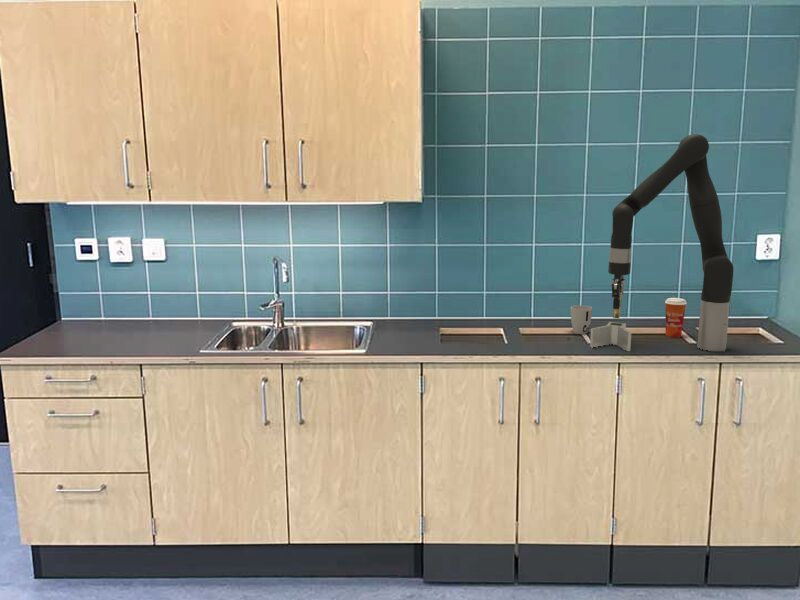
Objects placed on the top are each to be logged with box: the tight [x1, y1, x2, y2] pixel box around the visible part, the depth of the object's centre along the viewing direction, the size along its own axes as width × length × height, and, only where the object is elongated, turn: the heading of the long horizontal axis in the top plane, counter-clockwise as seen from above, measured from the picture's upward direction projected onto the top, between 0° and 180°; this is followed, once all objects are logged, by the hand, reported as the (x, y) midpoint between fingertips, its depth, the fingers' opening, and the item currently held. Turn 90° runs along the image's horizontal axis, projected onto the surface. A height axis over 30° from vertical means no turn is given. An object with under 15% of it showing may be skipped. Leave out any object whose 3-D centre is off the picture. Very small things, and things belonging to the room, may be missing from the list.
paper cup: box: [664, 297, 688, 338], centre depth 272 cm, size 8×8×14 cm
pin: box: [612, 289, 622, 319], centre depth 260 cm, size 3×3×13 cm
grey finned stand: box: [589, 321, 632, 352], centre depth 258 cm, size 14×14×7 cm
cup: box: [570, 304, 593, 335], centre depth 278 cm, size 8×8×10 cm
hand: (616, 307), depth 260 cm, fingers closed on pin, 2 cm apart
